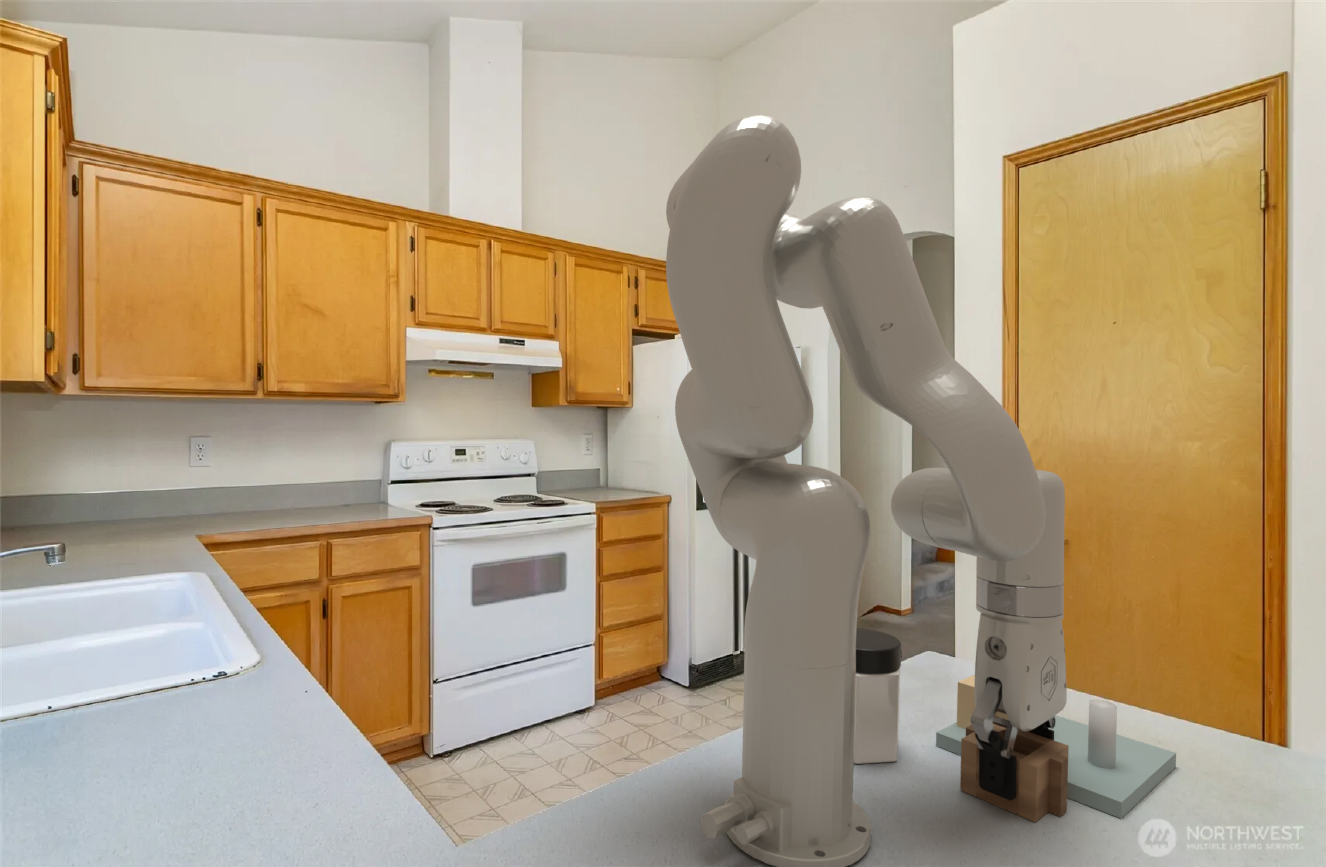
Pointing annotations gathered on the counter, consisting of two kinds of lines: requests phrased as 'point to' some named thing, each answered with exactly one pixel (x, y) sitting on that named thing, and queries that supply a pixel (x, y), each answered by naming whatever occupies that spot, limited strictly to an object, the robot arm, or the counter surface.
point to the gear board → (1086, 755)
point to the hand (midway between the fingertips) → (1017, 777)
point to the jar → (876, 697)
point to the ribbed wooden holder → (1023, 774)
